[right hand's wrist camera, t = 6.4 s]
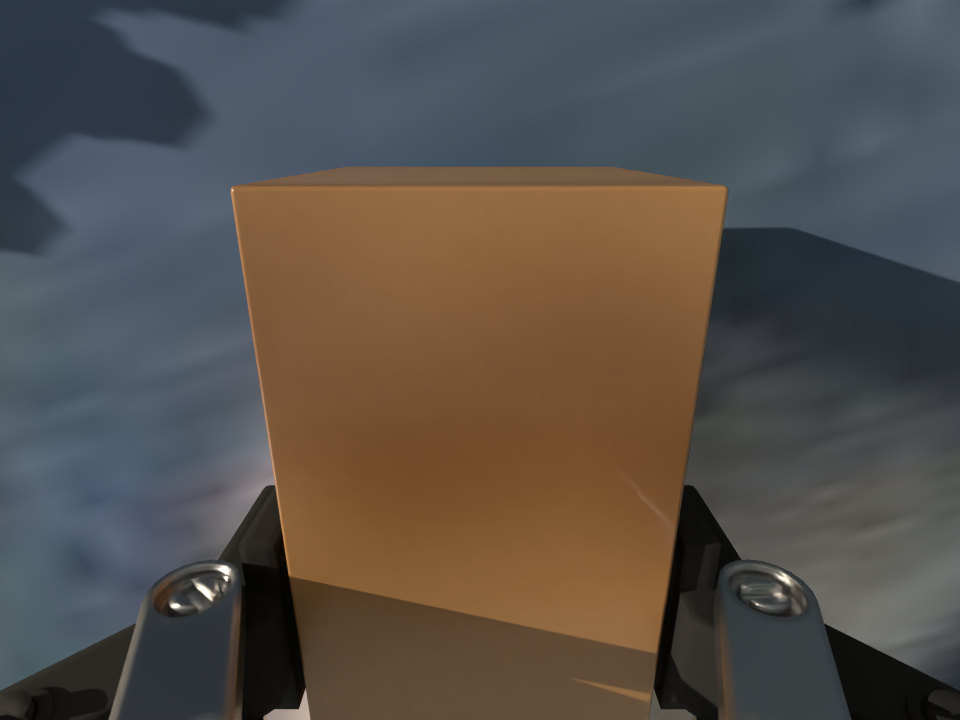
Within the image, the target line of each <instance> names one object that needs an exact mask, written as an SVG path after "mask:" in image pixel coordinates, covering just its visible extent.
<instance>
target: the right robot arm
mask: <svg viewBox="0 0 960 720" xmlns="http://www.w3.org/2000/svg"><path fill="white" fill-rule="evenodd" d="M305 688H306V686H305V679H304V672H303V666H302V659H301V653H300V646H299V639H298V633H297V626H296V619H295V613H294V606H293V600H292V593H291V586H290V580H289V573H288V567H287V560H286V553H285V547H284V540H283V533H282V527H281V520H280V514H279V507H278V500H277V494H276V487H275V485H269V486H266V487H265V488H264V489H263V490H262V492H261V494H260V495H259V497H258V498H257V500H256V501H255V503H254V505H253V506H252V508H251V509H250V511H249V512H248V514H247V515H246V517H245V519H244V520H243V522H242V523H241V525H240V526H239V528H238V529H237V531H236V533H235V534H234V536H233V537H232V539H231V540H230V542H229V544H228V545H227V547H226V548H225V550H224V551H223V553H222V554H221V556H220V558H219V559H218V560H205V561H198V562H194V563H191V564H187V565H184V566H182V567H180V568H177V569H175V570H173V571H171V572H169V573H168V574H166V575H165V576H163V577H162V578H161V579H159V580H158V581H157V582H156V583H155V584H154V585H153V586H152V587H151V588H150V589H149V590H148V591H147V593H146V595H145V597H144V599H143V601H142V605H141V608H140V612H139V615H138V619H137V622H136V623H135V624H133V625H131V626H129V627H127V628H125V629H123V630H121V631H119V632H117V633H115V634H113V635H111V636H109V637H107V638H105V639H103V640H101V641H99V642H97V643H95V644H93V645H91V646H89V647H87V648H85V649H83V650H81V651H79V652H77V653H75V654H73V655H71V656H69V657H67V658H65V659H63V660H61V661H59V662H57V663H55V664H53V665H51V666H49V667H47V668H45V669H43V670H41V671H39V672H37V673H35V674H33V675H31V676H29V677H27V678H25V679H23V680H21V681H19V682H17V683H15V684H13V685H11V686H9V687H7V688H5V689H3V690H1V691H0V720H267V714H268V713H269V712H271V711H272V710H274V709H299V707H300V704H301V701H302V697H303V694H304V691H305ZM654 690H655V693H656V696H657V699H658V702H659V705H660V708H661V709H686V710H687V711H689V712H690V713H692V714H693V720H960V691H959V690H957V689H955V688H953V687H951V686H949V685H947V684H945V683H942V682H940V681H938V680H936V679H934V678H932V677H930V676H928V675H926V674H924V673H922V672H920V671H918V670H916V669H914V668H912V667H910V666H908V665H906V664H904V663H902V662H900V661H898V660H896V659H894V658H892V657H890V656H888V655H886V654H884V653H882V652H880V651H878V650H876V649H874V648H872V647H870V646H868V645H866V644H864V643H862V642H860V641H858V640H856V639H854V638H852V637H850V636H848V635H846V634H844V633H842V632H840V631H838V630H836V629H834V628H832V627H830V626H828V625H826V624H824V622H823V619H822V615H821V612H820V608H819V605H818V601H817V599H816V597H815V595H814V593H813V591H812V590H811V589H810V588H809V587H808V586H807V585H806V584H805V583H804V582H803V581H802V580H801V579H799V578H798V577H797V576H795V575H794V574H792V573H791V572H789V571H787V570H785V569H783V568H780V567H778V566H776V565H773V564H769V563H766V562H762V561H755V560H741V558H740V557H739V555H738V554H737V552H736V550H735V549H734V547H733V546H732V544H731V543H730V541H729V540H728V538H727V536H726V535H725V533H724V532H723V530H722V529H721V527H720V526H719V524H718V522H717V521H716V519H715V518H714V516H713V515H712V513H711V512H710V510H709V508H708V507H707V505H706V504H705V502H704V501H703V499H702V497H701V496H700V494H699V493H698V491H697V490H696V489H695V488H694V487H693V486H690V485H684V489H683V496H682V503H681V509H680V516H679V522H678V529H677V536H676V542H675V549H674V556H673V562H672V569H671V575H670V582H669V589H668V595H667V602H666V608H665V615H664V622H663V628H662V635H661V641H660V648H659V655H658V661H657V668H656V674H655V681H654Z"/></svg>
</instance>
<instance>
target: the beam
mask: <svg viewBox="0 0 960 720" xmlns="http://www.w3.org/2000/svg"><path fill="white" fill-rule="evenodd" d="M231 196H232V203H233V209H234V216H235V222H236V229H237V236H238V242H239V249H240V255H241V262H242V269H243V275H244V282H245V289H246V295H247V302H248V308H249V315H250V322H251V328H252V335H253V341H254V348H255V355H256V361H257V368H258V375H259V381H260V388H261V394H262V401H263V408H264V414H265V421H266V428H267V434H268V441H269V447H270V454H271V461H272V467H273V474H274V480H275V487H276V494H277V500H278V507H279V514H280V520H281V527H282V533H283V540H284V547H285V553H286V560H287V567H288V573H289V580H290V586H291V593H292V600H293V606H294V613H295V619H296V626H297V633H298V639H299V646H300V653H301V659H302V666H303V672H304V679H305V686H306V692H307V699H308V705H309V712H310V719H311V720H649V714H650V708H651V701H652V694H653V688H654V681H655V674H656V668H657V661H658V655H659V648H660V641H661V635H662V628H663V622H664V615H665V608H666V602H667V595H668V589H669V582H670V575H671V569H672V562H673V556H674V549H675V542H676V536H677V529H678V522H679V516H680V509H681V503H682V496H683V489H684V483H685V476H686V470H687V463H688V456H689V450H690V443H691V437H692V430H693V423H694V417H695V410H696V403H697V397H698V390H699V384H700V377H701V370H702V364H703V357H704V351H705V344H706V337H707V331H708V324H709V318H710V311H711V304H712V298H713V291H714V285H715V278H716V271H717V265H718V258H719V251H720V245H721V238H722V232H723V225H724V218H725V212H726V205H727V199H728V187H726V186H723V185H717V184H711V183H705V182H699V181H693V180H687V179H681V178H675V177H669V176H663V175H657V174H651V173H645V172H640V171H634V170H628V169H622V168H616V167H344V168H338V169H332V170H326V171H320V172H313V173H307V174H301V175H295V176H289V177H283V178H277V179H271V180H265V181H259V182H253V183H247V184H241V185H236V186H233V187H232V188H231Z"/></svg>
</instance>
